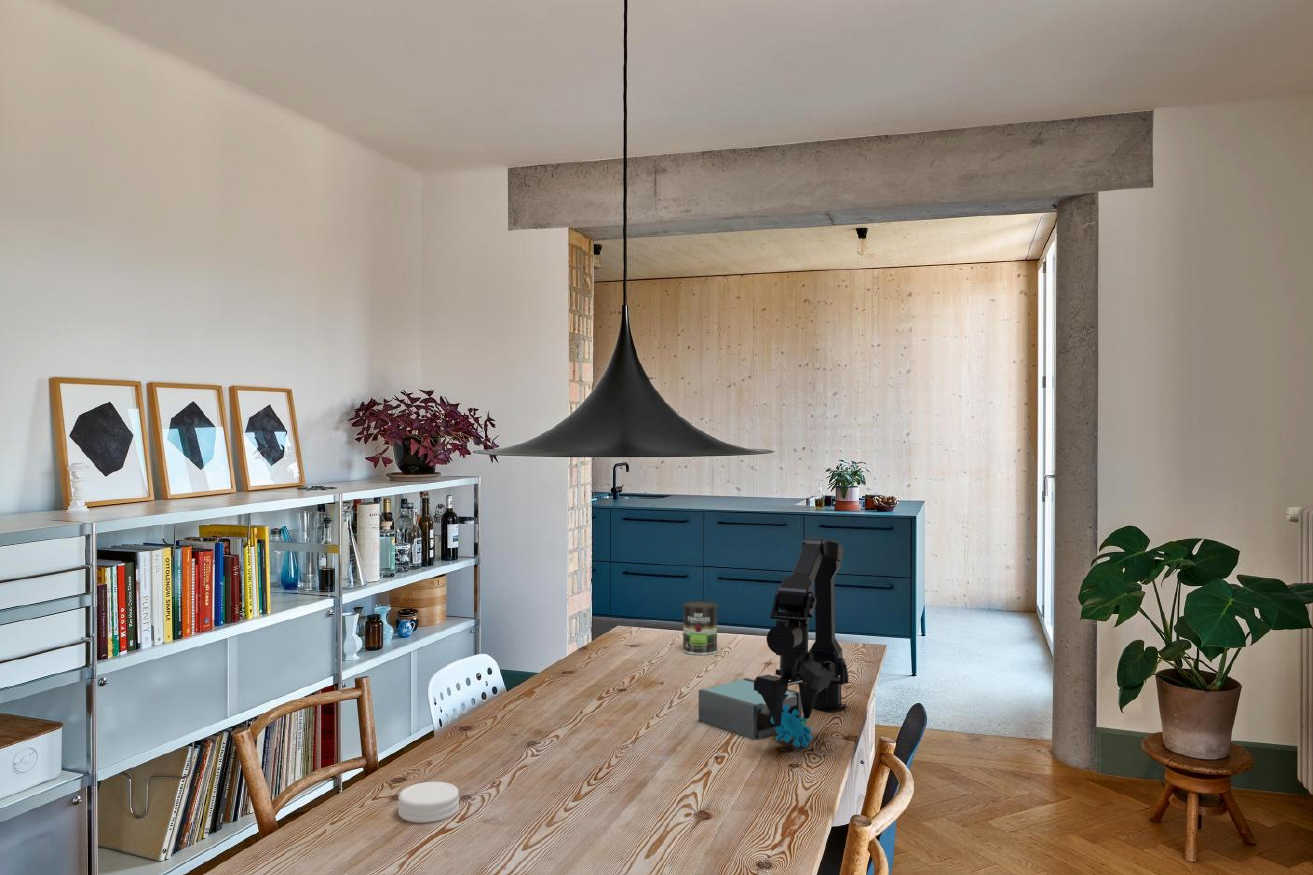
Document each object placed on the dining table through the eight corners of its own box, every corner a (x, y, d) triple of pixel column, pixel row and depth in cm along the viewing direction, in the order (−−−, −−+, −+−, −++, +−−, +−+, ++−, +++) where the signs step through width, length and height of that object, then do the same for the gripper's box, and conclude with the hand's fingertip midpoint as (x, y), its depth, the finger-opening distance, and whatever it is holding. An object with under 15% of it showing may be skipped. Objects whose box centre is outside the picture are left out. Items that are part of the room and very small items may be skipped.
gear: (794, 748, 182) (765, 706, 187) (777, 765, 185) (749, 723, 190) (825, 736, 190) (796, 697, 195) (808, 753, 193) (780, 713, 198)
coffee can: (715, 656, 265) (715, 607, 265) (680, 654, 267) (680, 606, 267) (719, 647, 275) (719, 601, 275) (685, 646, 277) (685, 600, 277)
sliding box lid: (742, 687, 214) (742, 679, 214) (801, 703, 201) (801, 694, 201) (703, 698, 205) (703, 689, 205) (761, 715, 192) (761, 705, 192)
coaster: (402, 828, 148) (402, 806, 148) (394, 805, 157) (394, 785, 157) (464, 818, 152) (464, 797, 152) (452, 796, 161) (452, 777, 161)
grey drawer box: (746, 707, 214) (746, 677, 214) (803, 724, 202) (803, 692, 202) (698, 721, 204) (698, 689, 204) (755, 740, 191) (755, 706, 191)
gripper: (795, 658, 177) (793, 739, 176) (853, 647, 189) (851, 723, 189) (752, 648, 185) (750, 726, 185) (811, 638, 197) (809, 711, 197)
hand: (792, 721), depth 188 cm, fingers open, 9 cm apart
